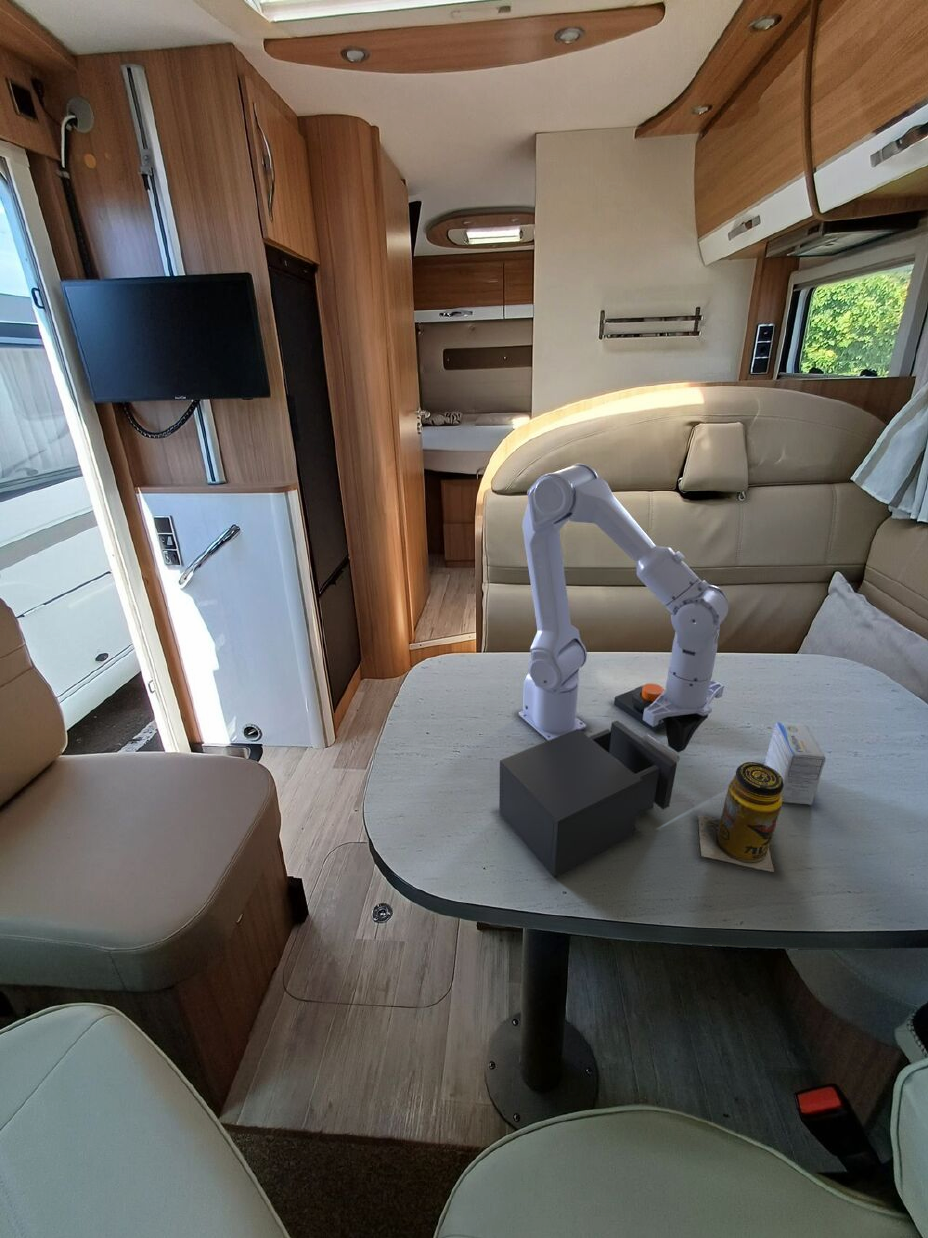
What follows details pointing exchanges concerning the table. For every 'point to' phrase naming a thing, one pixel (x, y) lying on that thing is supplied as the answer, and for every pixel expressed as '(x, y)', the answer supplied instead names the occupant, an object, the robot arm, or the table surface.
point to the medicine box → (796, 761)
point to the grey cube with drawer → (568, 800)
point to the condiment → (745, 819)
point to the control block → (636, 707)
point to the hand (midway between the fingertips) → (676, 747)
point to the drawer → (642, 763)
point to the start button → (651, 692)
